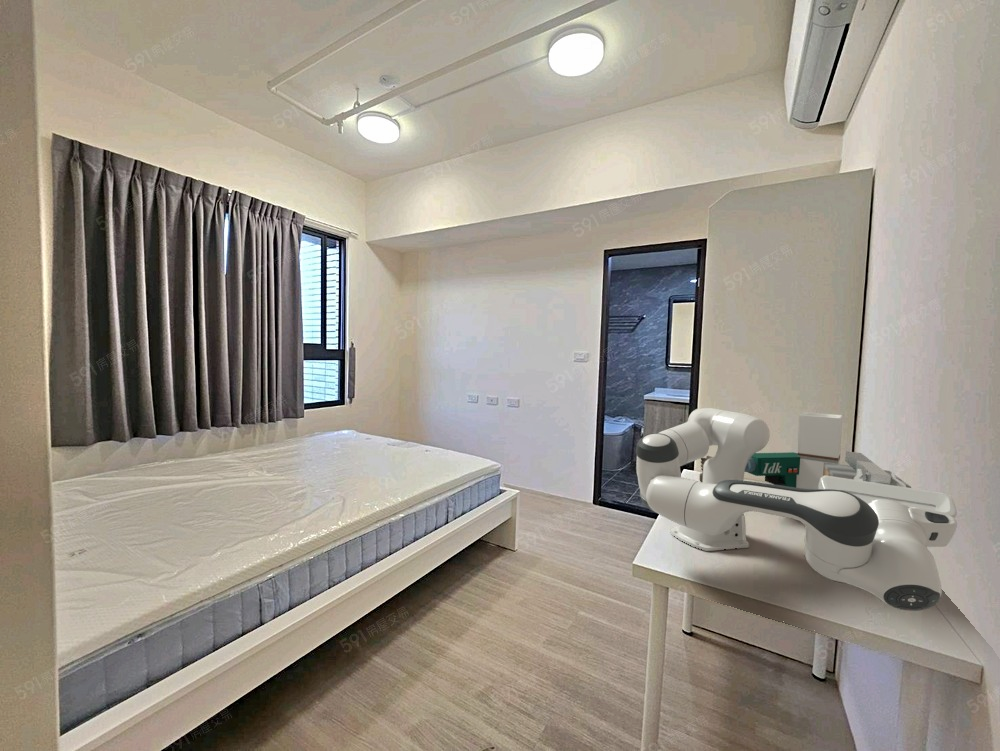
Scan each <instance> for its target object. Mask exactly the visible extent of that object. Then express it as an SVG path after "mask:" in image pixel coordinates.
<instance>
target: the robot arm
mask: <svg viewBox="0 0 1000 751" xmlns="http://www.w3.org/2000/svg"><path fill="white" fill-rule="evenodd" d="M770 434H771V433H770V429H769V426H768V424H767V423H766V422H765V421H764V420H762V419H760V418H759V417H756V416H753V415H750V414H748V413H743V412H736V411H730V410H726V409H725V410H724V409H720V408H714V407H703V408H702V407H701V408H696V409H694V410H693V411H691V413H690V414H689V416H688V418H687V421H685V422H683V423H681V424H678V425H675V426H673V427H671V428H668V429H664V430H662V431H659V432H658V433H657V432H652V433H647V434H645V435H643V436H642V437H641V438H640V439H639V440H638V441H637V443H636V448H635V456H636V463H635V464H636V466H635V470H636V475H637V482H638V488H639V497H640V500H641V502H642V504H643V506H644V507H646V508H647V509H648V510H649V511H651V512H653V513H656V514H659V515H660V516H661V517H663V518H664V519H667V520H669V521H671V522H673V523H676V524H678V525H675V526H674V527H672V528H671V527H670V530H669V533H670V532H671V533H670V534H671V535H672V536H673V537H674V536H675V537H674V538H676V539H677V538H678V539H677V540H679V541H681V542H682V541H683V543H684V542H685V544H686V543H687V544H686V545H688V544H689V545H688V546H690V545H691V546H690V547H693V548H695V547H696V549H698V548H699V550H701V549H702V550H701V551H705V552H713V551H722V550H724V549H726V550H735V548H737V549H747V548H749V547H750V544H749V541H747V528H746V526H747V524H746V517H745V515H744V513H748V512H755V513H756V512H758V513H761V514H768V515H772V516H776V517H777V516H778V517H782V518H788V519H793V520H797V521H799V522H801V523H802V524H803V525H804V526H805V527H804V528H805V530H804V531H805V534H804V558H805V561H806V563H807V564H808V566H809V567H810V568H811V569H812V570H813V571H815V573H817V574H818V575H820V576H822V577H823V578H824V579H827V580H830V581H833V582H837V583H840V584H848V585H851V586H852V587H853V586H854V587H856V588H859V589H862V590H864V591H866V592H868V593H869V594H872V595H874V596H875V597H877V598H878V599H879V600H881V601H882V602H883V603H884V604H886V605H888V606H890V607H893V608H895V609H897V610H900V611H901V610H902V611H908V612H909V611H911V612H914V611H922V610H927V609H930V608H931V607H932V608H933V606H935V605H937V603H938V602H939V601H940V599H941V596H942V592H943V591H942V582H941V578H940V573H939V570H938V566H937V564H936V559H935V557H934V556H933V554H932V552H931V551H930V549H929V548H934V547H935V548H936V547H937V548H938V547H939V548H944V547H947V546H948V545H949V544H950V542H951V541H952V539H953V537H954V536H955V534H956V531H957V528H958V522H957V519H956V517H957V513H958V512H957V511H958V510H957V506H956V503H955V502H954V501H955V500H954V498H952V496H950V495H949V494H947V493H945V492H940V491H933V490H928V489H922V488H913V487H911V488H908V487H906V485H905V484H903V483H902V482H901V481H899V480H898V479H896V477H895V475H896V474H895V473H894V472H892V473H888V474H889V475H890V476H891V479H890V485H887V484H881V483H874V482H867V481H863V480H867V476H868V473H867V470H865V469H857V473H856V476H855V477H854V480H853V479H847V478H840V477H833V476H823V477H821V478H820V481H819V485H818V489H803V488H795V487H788V486H780V485H773V484H771V483H764V482H758V481H751V480H745V473H746V472H745V468H746V465H747V463H748V461H749V459H750V458H751V457H752V456H753V455H754V454H755V453H759V452H760V451H762V450H764V448H765V447H766V446H767V444H768V443H769V440H770ZM711 446H717V448H716V449H717V450H716V453H715V454H714V456H711V457H712V458H709V459H708V460H706V461H705V463H704V465H703V471H702V472H703V481H702V482H700V480H695V479H690V478H687V477H686V478H685V477H682V472H681V467H682V466H685V465H687V464H690V463H692V462H695V461H697V460H698V461H699V460H701V458H705V456H706V457H707V454H708V453H709V450H710V447H711Z"/></svg>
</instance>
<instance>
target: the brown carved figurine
mask: <svg viewBox="0 0 1000 751" xmlns="http://www.w3.org/2000/svg"><path fill="white" fill-rule="evenodd" d="M712 457H713V456H709V455H706V457H703V458H700V460H701V461H700V468H701V471H702V472H701V473H699V482H702V481H703V465H704V463H705V461H706V460H708V459H709V458H712Z"/></svg>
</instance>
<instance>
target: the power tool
mask: <svg viewBox="0 0 1000 751" xmlns="http://www.w3.org/2000/svg"><path fill="white" fill-rule="evenodd" d="M797 456H798V452H793V451H791V452H756V453H755V454H754V455H753V456H752V457H751V458H750V459H749V461H748V463H747V465H746V468H745V472H744V473H748V474H751V475H753V476H756V477H764V482H767V483H768V484H774V485H780V486H788V487H795V488H796V482H797V475H799V469H800V457H797Z"/></svg>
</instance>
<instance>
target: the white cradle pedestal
mask: <svg viewBox="0 0 1000 751" xmlns="http://www.w3.org/2000/svg"><path fill="white" fill-rule="evenodd" d="M842 424H843V415H842V414H832V413H831V414H830V413H818V412H817V413H816V412H806V411H803V412H802V414H799V415H798V433H797V434H798V436H797V453H798V456H797V457H800V469H799V475H797V482H796V488H803V489H818V485H819V481H820V478H821V477H823V468H824V463H832V464H840V465H841V451H842V450H841V449H842V448H841V447H842V426H843V425H842Z"/></svg>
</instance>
